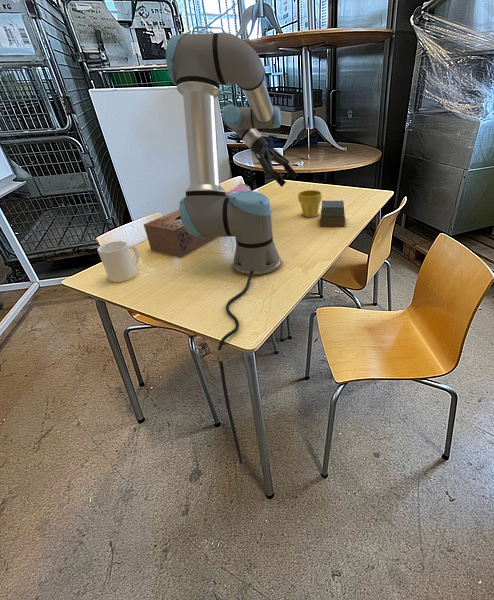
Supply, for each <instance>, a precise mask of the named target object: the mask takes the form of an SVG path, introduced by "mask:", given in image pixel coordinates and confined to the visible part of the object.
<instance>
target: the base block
mask: <svg viewBox="0 0 494 600" xmlns="http://www.w3.org/2000/svg"><path fill="white" fill-rule="evenodd" d="M319 217H320V218H319V219H320V220H319V221H320V226H319V227H320V228H324V227H326V228H329V227H331V228H344V227H345V226H346V213H345V212H344V217H322V209H320V216H319Z"/></svg>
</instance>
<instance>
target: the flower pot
mask: <svg viewBox="0 0 494 600" xmlns="http://www.w3.org/2000/svg"><path fill="white" fill-rule="evenodd" d="M297 198H298V199H297V200H298V202H299V205H300V208H301V212H302V215H303V216H304V217H306V218H312V217H313V218H315V217H317V216H318V215H319V210H320V204H321V202H322V201H323V199H322V198H323V195H322V191H320V190H317V189H316V190H315V189H310V190H309V189H306V190H302V191H299V192H298V193H297Z"/></svg>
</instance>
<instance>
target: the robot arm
mask: <svg viewBox="0 0 494 600" xmlns="http://www.w3.org/2000/svg"><path fill="white" fill-rule="evenodd" d="M165 64H166V69H167V74H168V77H169V79H170V82H172V84H173V85H175V86H176V90H177V92H178V93H179V94H180V95H181V96H182V98H183V111H184V122H185V123H184V125H185V135H186V137H185V138H186V148H187V149H186V150H187V160H188V171H189V172H188V174H189V184H190V185H189V186H188V187H187V188H186V190H185V197H182V198H181V199H180V200H179V206H178V210H179V211H180V217H181V220H182V223H183V226H184V228H185V229H186V231H187V232H188V233H189V234H190V235H192V236H201V237H216V238H219V237H222V238H223V237H235V243H236V247H235V252H234V255H233V268H234V270H235V271H236V272H237V273H239V274H241V275H245V276H248V278H247V281H246V284H245V287H244V288H243V290H242V291H240V292H239V293H238V294H236V295H234V296H233V297H232V298H231V299H229V300H228V302H227V303H226V305H225V311H226V313H227V314H228V316H229V317H230V318H231V319H232V320H233V321H234V323H235V326H234V329H232V330H230V331H229V332H228V333H226V334H224V336H223V337H222V338H221V339H220V341H219V343H218V346H217V351H221V350H222V348H223V345H224V343H225V341H226V340H227V339H228V338H229V337H231V336H232V335H234V334H235V333H237V332H238V330H239V328H240V321H239V319H238V318H237V317H236V316H235V315H234V313H232V311H231V310H230V305H231V304H232V303H233V302H234V301H235V300H237V299H239V298H240V297H241V296H243V295H244V294H245V293H246V292H247V290H249V286H250V282H251V281H252V280H251V279H252V276H263V275H267V274H271V273H272V272H275V271H276V270H278V269H279V268H280V266H281V258H280V254H279V252H278V250H277V247H276V245H275V242H274V236H273V223H272V210H271V209H272V208H271V205H270V199H269V198H268V196H266V195H265V194H263V193H261V192H258V191H254V190H251V191H235V192H232V193H231V194H230V196H229V197H228V198H227V197H226V193H225V192H226V190H225V189H224V188H222V186H221V182H220V181H221V180H220V179H221V178H220V168H219V166H220V165H219V148H218V147H219V146H218V132H217V131H218V130H217V115H216V98H217V97H218V96H219V95H220V93H221V92H220V85H221V86H222V85H236V86H237V87H238V88H239V89H240V90H242V92H243V94H244V96H245V98H246V100H247V103H248V104H249V106H240V107H239V106H237V105H235V104H228V105H226V106H224V108H223V109H222V112H221V117H222V118H221V119H222V120H223V122H224V123H225V125H226V127H228V128H230V129H231V130H232V131H233V132H234V133H235V134H236V135H237V136H238V137H239V139H241V141H242V142H243V143H244V145H245V146H247V147H248V149H250V151H251V152H252V153H253V154H254V156H255V158H256V160H257V161H258V163H259V164H260V166H261V168H262V170H263V172H264V174H265V175H267V176H268V177H270V176H271V178H273V179H274V181H275V182H277V184H278V185H279V186H280V187H281V188H282V187H284V185H285V184H286V183H287V181H286V180H284V178H283V177H282V176H281V174H279V173H278V172H277V170H276V169H275V168H274V166H273V164H272V162H274V163H276V164H278V165H280V166H282V167H283V169H284V171H285V172H287V174H288V175H289V176H290V177H291V178H292V179H293V180H295V179H296V178H297V177H298V175H299V174H298V173H297V172H296V171H295V170H294V168H292V166H291V165H290V164H289V163H290V160H289V159H288V158H286V157H285V156H284V155H282V154H281V153H280V152H279V151H278V150H276V149H275V148H274V147H273V146H271V147H269V142H268V140H267V139H266V138H265V137H264V136H262V134H261V132H259V130H258V129H271V130H273V129H279V128H280V127H281V125H282V116H281V114H282V113H281V108H280V106H277V105H276V106H275V105H273V104H272V101H271V97H270V95H269V92H268V88H267V85H266V81H265V76H266V70H265V68H264V63H263V62H262V59H261V57H260V56H259V54H258V53H257V52H256V50H255V49H254V48H253V47H252V46H251V45H250V44H248V42H246V41H245V40H244V39H243V38H241V37H239V36H237V35H234V34H233V33H229V32H207V33H203V32H201V33H189V32H184V33H182V34H181V33H180V34H174V35H172V36H171V37H170V38H169V39H168V41H167V44H166V48H165ZM274 169H275V170H274ZM218 364H219V369H220V378H221V383H222V389H223V395H224V400H225V406H226V410H227V414H228V419H229V424H230V427H231V431H232V435H233V439H234V444H235V449H236V452H237V456H238V461H239V464H243V458H242V454H241V448H240V444H239V440H238V436H237V431H236V427H235V422H234V419H233V414H232V410H231V409H232V408H231V404H230V399H229V394H228V388H227V382H226V376H225V375H226V374H225V368H224V367H225V366H224V362H223V360H222V361H221V360H219V361H218Z"/></svg>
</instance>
